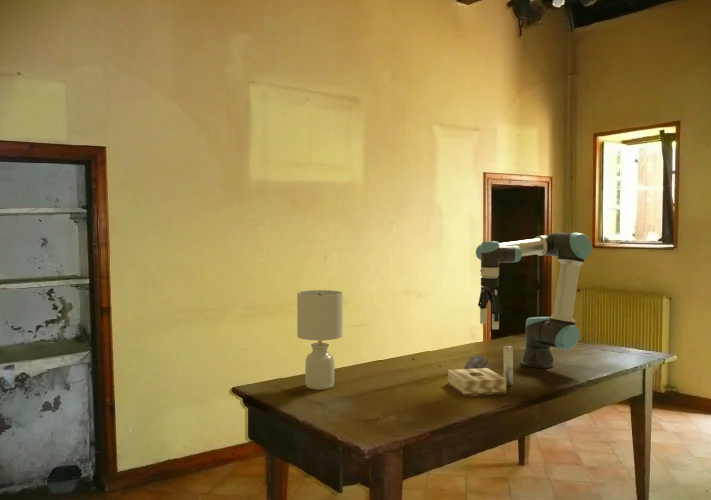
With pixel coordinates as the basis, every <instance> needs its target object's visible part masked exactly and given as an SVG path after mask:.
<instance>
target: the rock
mask: <svg viewBox="0 0 711 500" xmlns="http://www.w3.org/2000/svg"><path fill="white" fill-rule="evenodd" d="M478 368H488V369H490V364H489V361H488V359H487V358H484V356H481V355H477V356H473V357H471V358H470V359H468V360H467V361H466V364H465V366H464V369H478ZM490 370H491V369H490Z"/></svg>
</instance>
